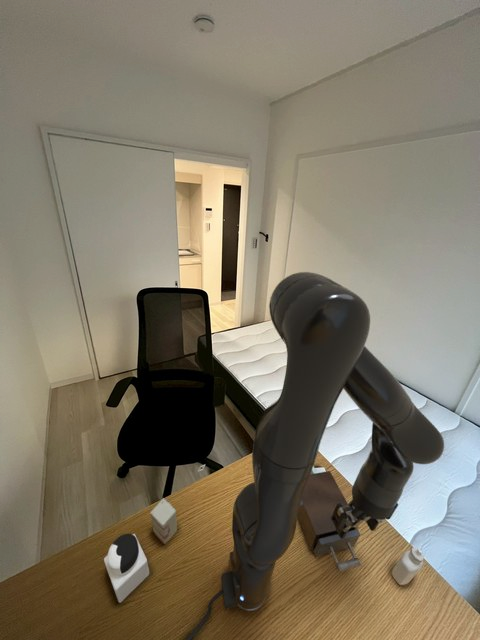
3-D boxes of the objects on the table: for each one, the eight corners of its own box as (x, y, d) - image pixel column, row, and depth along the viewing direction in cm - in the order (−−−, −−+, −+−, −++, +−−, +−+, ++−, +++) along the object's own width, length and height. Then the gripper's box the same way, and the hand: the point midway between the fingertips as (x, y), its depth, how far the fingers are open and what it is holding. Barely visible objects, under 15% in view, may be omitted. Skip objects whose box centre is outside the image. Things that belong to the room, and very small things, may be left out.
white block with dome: (137, 546, 63) (131, 521, 58) (150, 574, 59) (145, 549, 53) (108, 572, 58) (99, 547, 53) (119, 604, 54) (111, 580, 49)
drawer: (365, 569, 62) (373, 557, 59) (325, 581, 59) (331, 569, 56) (327, 493, 78) (332, 481, 75) (294, 500, 75) (298, 488, 72)
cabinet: (351, 540, 68) (359, 524, 64) (310, 551, 65) (316, 535, 61) (324, 486, 80) (329, 470, 77) (288, 493, 78) (293, 477, 74)
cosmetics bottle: (152, 532, 66) (149, 511, 62) (165, 517, 69) (163, 496, 65) (165, 546, 63) (162, 526, 59) (178, 530, 67) (176, 509, 62)
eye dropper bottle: (418, 587, 60) (438, 565, 55) (394, 584, 60) (413, 561, 55) (408, 564, 64) (426, 540, 59) (386, 561, 64) (402, 537, 59)
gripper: (392, 463, 54) (370, 505, 61) (335, 474, 51) (319, 517, 58) (421, 500, 48) (392, 542, 55) (358, 514, 45) (336, 558, 52)
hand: (355, 529), depth 56 cm, fingers open, 7 cm apart
